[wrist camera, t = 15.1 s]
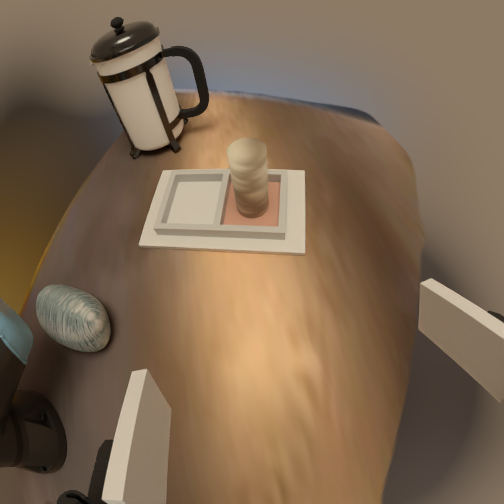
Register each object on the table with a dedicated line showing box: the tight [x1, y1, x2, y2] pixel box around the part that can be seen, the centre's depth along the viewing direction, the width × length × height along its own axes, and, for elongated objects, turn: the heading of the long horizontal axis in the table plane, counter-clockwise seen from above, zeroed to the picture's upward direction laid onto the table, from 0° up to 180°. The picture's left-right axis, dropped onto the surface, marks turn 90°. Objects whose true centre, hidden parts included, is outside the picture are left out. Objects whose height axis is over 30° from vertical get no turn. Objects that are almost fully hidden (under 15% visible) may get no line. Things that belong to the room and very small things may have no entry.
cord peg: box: [227, 138, 269, 218], centre depth 41 cm, size 5×5×12 cm
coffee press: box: [90, 17, 209, 159], centre depth 44 cm, size 17×16×30 cm
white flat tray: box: [139, 169, 305, 256], centre depth 46 cm, size 26×16×3 cm, turn 84°
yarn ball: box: [36, 284, 111, 352], centre depth 36 cm, size 14×10×10 cm
